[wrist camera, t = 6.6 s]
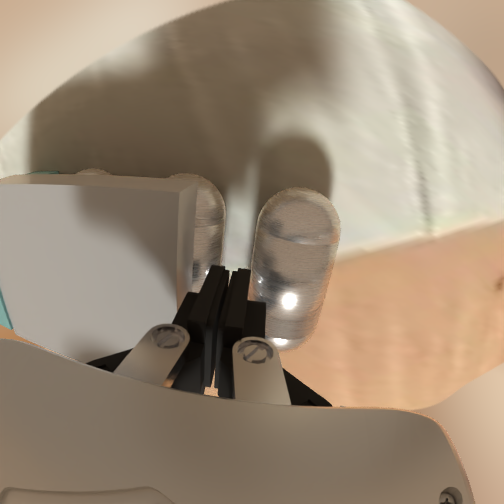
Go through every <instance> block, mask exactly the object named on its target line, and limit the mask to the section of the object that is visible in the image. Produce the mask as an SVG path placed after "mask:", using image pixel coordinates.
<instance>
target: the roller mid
mask: <svg viewBox="0 0 504 504" xmlns="http://www.w3.org/2000/svg"><path fill="white" fill-rule="evenodd" d="M165 179H178V180H189V181H198V189H197V202H196V216H195V233H194V252H193V278H192V292H196V293H199V292H200V290H201V287H202V285H203V283H204V281H205V278H206V276H207V274H208V272H209V269H210V267H211V265H219V266H221V263H222V252H223V241H224V230H225V220H226V209H225V204H224V200H223V198H222V196H221V194H220V192H219V191H218V189H217V188H216V187H215V186H214V185H213V184H212V183H211V182H210V181H208V180H207V179H205V178H203V177H201V176H198V175H196V174H191V173H180V174H176V175H172V176H170V177H167V178H165Z"/></svg>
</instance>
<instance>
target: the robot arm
mask: <svg viewBox="0 0 504 504" xmlns="http://www.w3.org/2000/svg"><path fill="white" fill-rule="evenodd" d="M229 272H230V271H229V270H225V266H219V265H211V267H210V269H209V272H208V274H207V276H206V278H205V281H204V283H203V285H202V287H201V290H200V292H199V293H196V292H190V291H189V292H187V294H186V296H185V298H184V300H183V302H182V304H181V306H180V308H179V310H178V312H177V313H176V315H175V318H174V320H173V322H172V324H160V325H156V326H154V327H152V328H151V329H150V330H149V331H148V332H147V333H146V334H145V335H144V336H143V338H142V339H141V340H140V341H139V342H138V343H137V345H136V346H135V347H134V348H132V349H129V350H125V351H122V352H119V353H116V354H112V355H109V356H106V357H102V358H99V359H96V360H92V361H90V362H88V363H86V364H84V363H82V362H80V361H76V360H73V359H70V358H68V357H65V356H62V355H60V354H57V353H54V352H51V351H49V350H46V349H43V348H41V347H38V346H35V345H33V344H29V343H26V342H23V341H17V340H12V339H0V504H475V501H474V497H473V493H472V490H471V487H470V483H469V480H468V477H467V474H466V472H465V469H464V466H463V464H462V461H461V459H460V456H459V454H458V452H457V450H456V447H455V445H454V444H453V442H452V440H451V438H450V436H449V435H448V433H447V431H446V430H445V429H444V427H443V426H442V425H441V424H440V423H439V422H438V421H436V420H434V419H433V418H431V417H428V416H426V415H423V414H421V413H417V412H413V411H409V410H403V409H395V408H380V407H344V406H340V407H332V405H331V404H330V403H329V402H328V401H327V400H325V399H324V398H323V397H321V396H320V395H318V394H317V393H316V392H314V391H313V390H312V389H310V388H309V387H307V386H306V385H305V384H303V383H302V382H301V381H299V380H298V379H297V378H295V377H294V376H293V375H291V374H290V373H289V372H287V371H286V370H285V369H283V368H282V365H281V361H280V357H279V353H278V350H277V348H276V346H275V345H274V344H273V343H271V342H270V341H268V340H266V339H265V326H266V302H259V301H251V300H247V299H248V292H249V284H250V277H251V270H249V269H241V268H238V271H233V272H232V276H231V279H230V283H229ZM228 283H229V287H228ZM214 371H215V383H214V388H218V396H219V397H216V396H210V395H204V390H205V386H206V387H211V384H212V379H213V375H214Z"/></svg>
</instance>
